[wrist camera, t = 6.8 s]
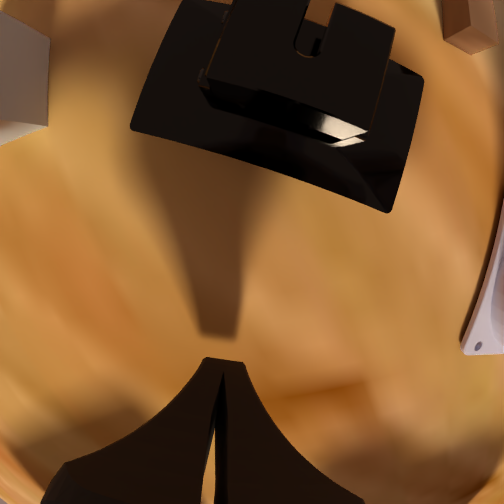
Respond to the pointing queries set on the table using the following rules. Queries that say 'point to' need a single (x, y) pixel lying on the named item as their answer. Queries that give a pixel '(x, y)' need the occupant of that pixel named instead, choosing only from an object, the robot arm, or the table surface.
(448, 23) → the bay
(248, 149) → the black boxy piece
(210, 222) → the table surface
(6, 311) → the table surface
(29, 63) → the light gray block
